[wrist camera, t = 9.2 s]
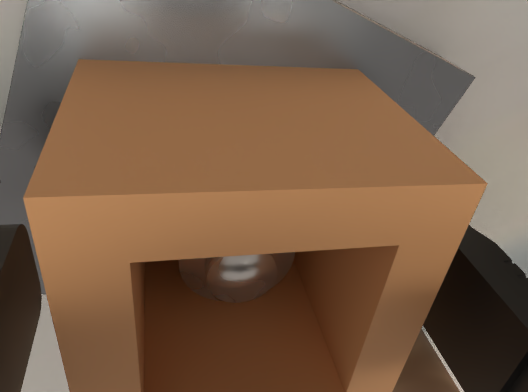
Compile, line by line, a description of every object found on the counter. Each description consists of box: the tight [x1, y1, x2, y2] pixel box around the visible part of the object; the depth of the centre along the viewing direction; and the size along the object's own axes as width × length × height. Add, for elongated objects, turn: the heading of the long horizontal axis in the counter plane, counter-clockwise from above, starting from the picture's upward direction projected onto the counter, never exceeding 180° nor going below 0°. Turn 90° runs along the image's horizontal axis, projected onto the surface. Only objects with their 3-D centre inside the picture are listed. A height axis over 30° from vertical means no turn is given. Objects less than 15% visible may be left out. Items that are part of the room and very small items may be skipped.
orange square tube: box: [23, 59, 487, 392], centre depth 9 cm, size 6×6×5 cm
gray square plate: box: [0, 0, 475, 303], centre depth 11 cm, size 10×10×5 cm
